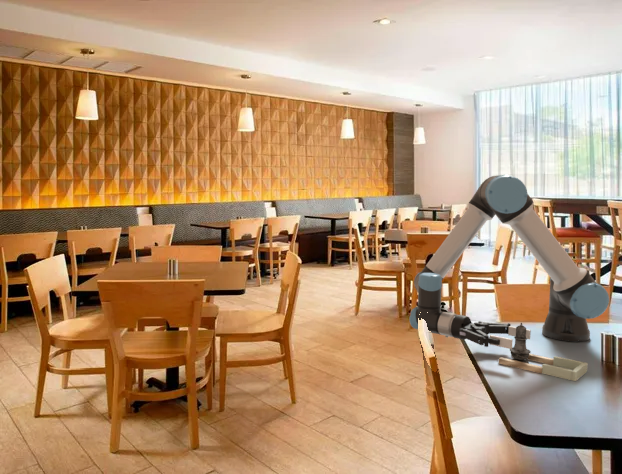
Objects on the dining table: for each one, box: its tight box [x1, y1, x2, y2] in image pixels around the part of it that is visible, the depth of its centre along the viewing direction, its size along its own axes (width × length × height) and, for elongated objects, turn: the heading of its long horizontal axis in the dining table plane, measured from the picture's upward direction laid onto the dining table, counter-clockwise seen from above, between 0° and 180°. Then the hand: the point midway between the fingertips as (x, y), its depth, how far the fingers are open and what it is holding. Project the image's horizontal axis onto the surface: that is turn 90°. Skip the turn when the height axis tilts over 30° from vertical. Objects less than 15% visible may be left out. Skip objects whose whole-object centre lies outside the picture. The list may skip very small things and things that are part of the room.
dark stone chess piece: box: [509, 322, 532, 364], centre depth 163 cm, size 6×6×12 cm
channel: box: [498, 353, 554, 375], centre depth 162 cm, size 12×11×2 cm
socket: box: [541, 355, 589, 382], centre depth 155 cm, size 9×10×2 cm
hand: (521, 339), depth 162 cm, fingers open, 13 cm apart
